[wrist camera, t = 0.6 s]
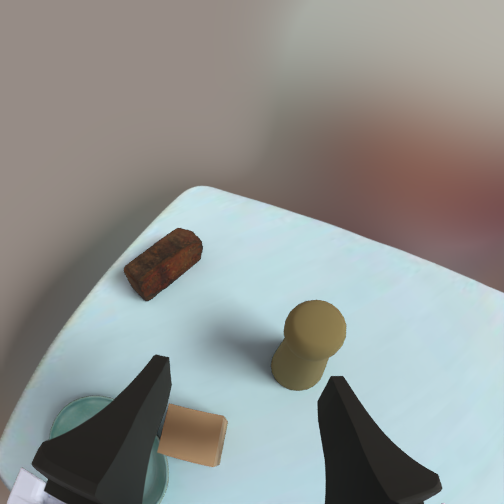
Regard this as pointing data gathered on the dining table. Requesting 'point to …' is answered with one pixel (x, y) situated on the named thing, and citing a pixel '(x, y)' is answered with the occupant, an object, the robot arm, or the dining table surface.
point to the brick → (163, 262)
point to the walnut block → (193, 435)
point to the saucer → (88, 408)
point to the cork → (308, 344)
